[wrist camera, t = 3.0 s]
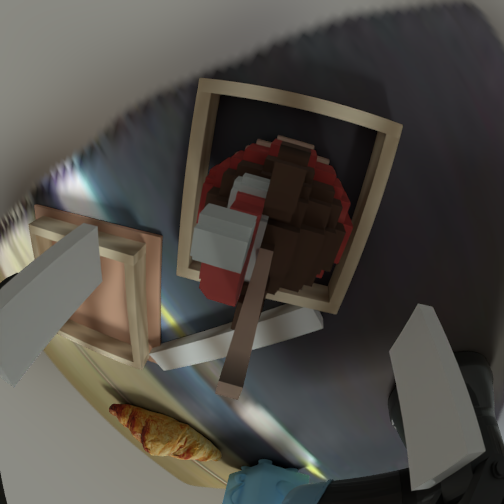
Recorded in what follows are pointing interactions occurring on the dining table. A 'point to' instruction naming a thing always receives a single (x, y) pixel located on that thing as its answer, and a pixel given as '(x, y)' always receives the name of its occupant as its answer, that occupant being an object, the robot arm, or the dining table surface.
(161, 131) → the dining table surface
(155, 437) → the croissant
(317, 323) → the square wooden frames
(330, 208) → the cake
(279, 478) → the teapot
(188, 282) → the dining table surface
